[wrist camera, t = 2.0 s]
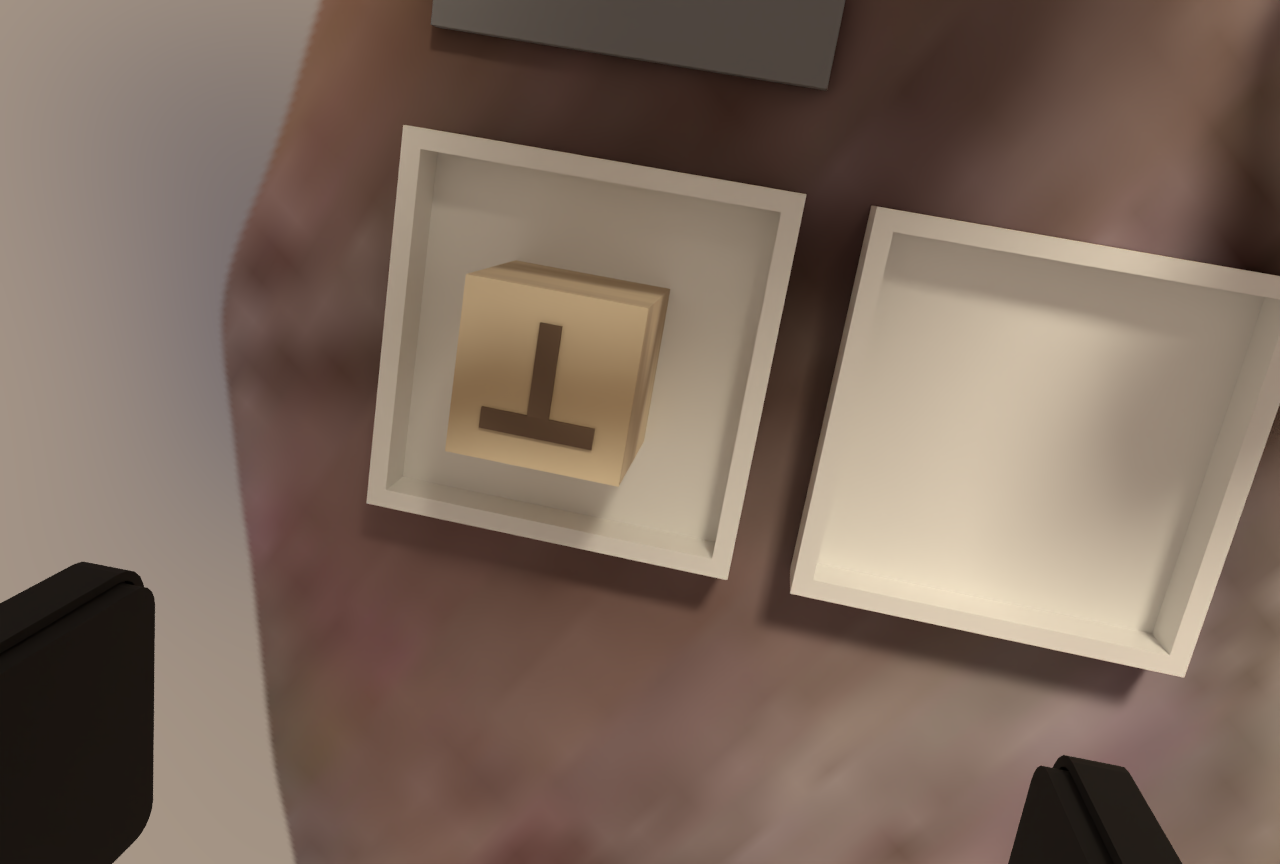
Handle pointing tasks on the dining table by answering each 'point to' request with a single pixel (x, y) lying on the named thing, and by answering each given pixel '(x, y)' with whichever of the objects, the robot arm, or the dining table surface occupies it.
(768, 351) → the tray
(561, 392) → the letter cube
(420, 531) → the dining table surface
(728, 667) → the dining table surface
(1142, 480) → the tray
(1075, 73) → the dining table surface
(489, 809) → the dining table surface
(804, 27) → the pad
